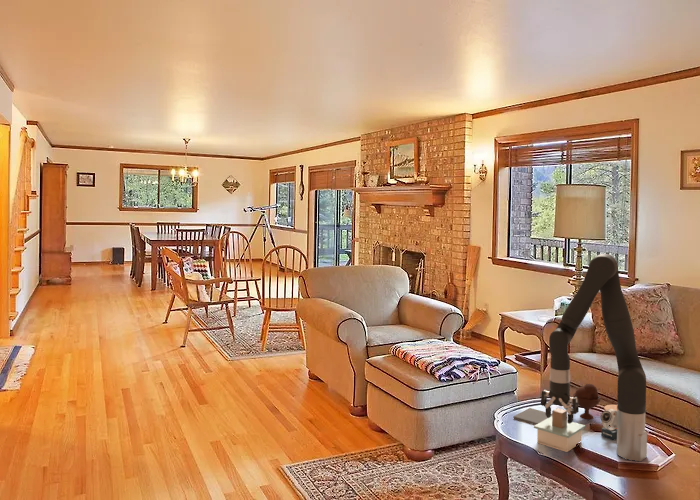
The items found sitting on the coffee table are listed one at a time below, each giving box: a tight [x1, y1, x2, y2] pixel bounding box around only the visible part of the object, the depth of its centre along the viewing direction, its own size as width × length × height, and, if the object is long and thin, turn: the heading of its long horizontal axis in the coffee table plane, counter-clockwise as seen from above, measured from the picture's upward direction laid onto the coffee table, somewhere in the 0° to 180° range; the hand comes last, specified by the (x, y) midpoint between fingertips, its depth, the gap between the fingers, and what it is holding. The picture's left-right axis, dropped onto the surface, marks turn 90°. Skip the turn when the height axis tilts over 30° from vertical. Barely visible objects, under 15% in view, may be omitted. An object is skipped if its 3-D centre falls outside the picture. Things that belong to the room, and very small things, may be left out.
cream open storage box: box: [536, 429, 582, 453], centre depth 224 cm, size 12×12×6 cm
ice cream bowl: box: [572, 383, 602, 421], centre depth 249 cm, size 11×11×15 cm
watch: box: [600, 409, 617, 441], centre depth 228 cm, size 6×8×11 cm
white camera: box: [603, 404, 618, 428], centre depth 238 cm, size 11×11×9 cm
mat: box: [513, 407, 552, 426], centre depth 249 cm, size 16×14×1 cm
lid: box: [533, 407, 586, 438], centre depth 223 cm, size 14×14×8 cm
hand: (559, 420), depth 223 cm, fingers open, 8 cm apart
